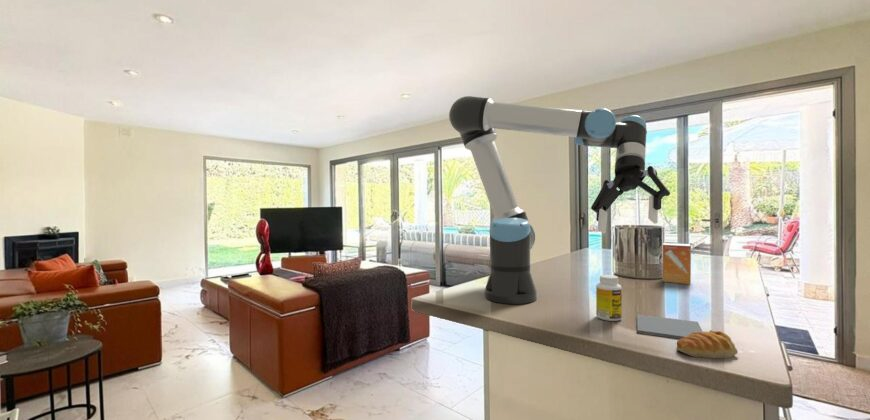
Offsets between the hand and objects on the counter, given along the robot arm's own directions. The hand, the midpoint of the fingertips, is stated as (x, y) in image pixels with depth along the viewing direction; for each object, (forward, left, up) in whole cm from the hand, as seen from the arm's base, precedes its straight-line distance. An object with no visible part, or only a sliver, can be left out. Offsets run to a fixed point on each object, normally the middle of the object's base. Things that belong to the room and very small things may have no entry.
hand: (625, 226), depth 93 cm
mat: (+9, -12, -22) cm, 26 cm away
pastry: (+14, -23, -22) cm, 35 cm away
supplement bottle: (-3, -10, -22) cm, 24 cm away
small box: (+15, +43, -22) cm, 51 cm away
